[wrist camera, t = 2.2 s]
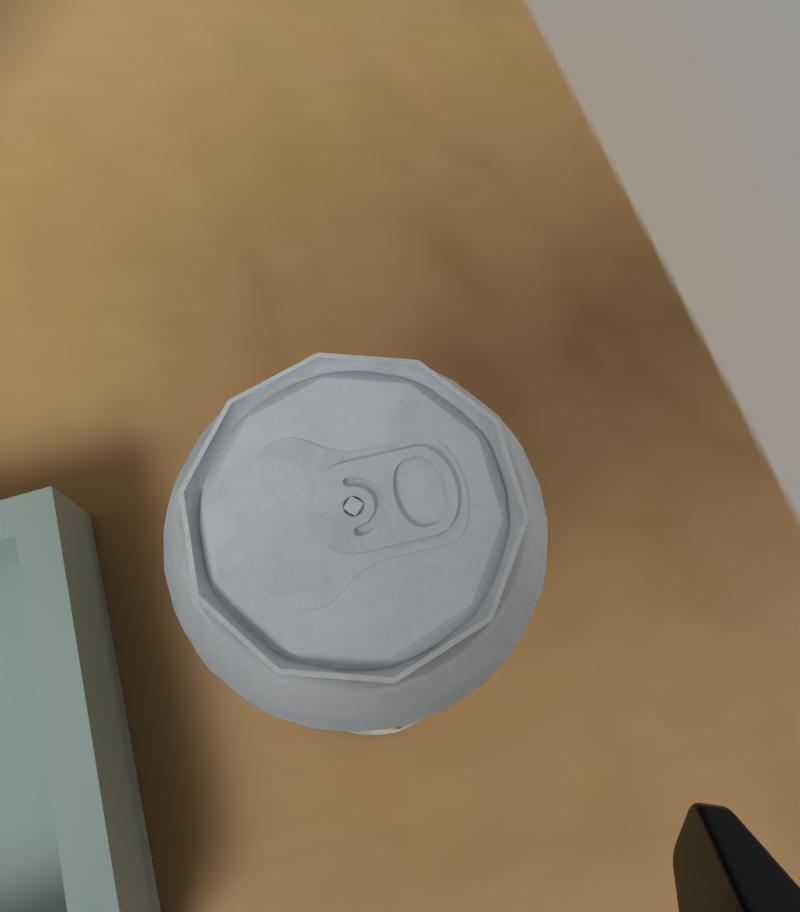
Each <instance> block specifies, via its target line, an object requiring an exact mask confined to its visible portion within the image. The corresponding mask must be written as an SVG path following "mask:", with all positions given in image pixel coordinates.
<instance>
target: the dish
mask: <svg viewBox="0 0 800 912" xmlns="http://www.w3.org/2000/svg"><path fill="white" fill-rule="evenodd" d="M0 912H161V908H160V903H159V897H158V891H157V886H156V880H155V874H154V868H153V863H152V857H151V851H150V846H149V840H148V834H147V829H146V823H145V817H144V812H143V806H142V800H141V795H140V789H139V783H138V778H137V772H136V766H135V761H134V755H133V749H132V744H131V738H130V732H129V727H128V721H127V715H126V710H125V704H124V698H123V693H122V687H121V681H120V675H119V670H118V664H117V658H116V653H115V647H114V641H113V636H112V630H111V624H110V619H109V613H108V607H107V602H106V596H105V590H104V585H103V579H102V573H101V568H100V562H99V556H98V551H97V545H96V539H95V534H94V528H93V522H92V517H91V515H90V514H89V513H87V512H86V511H85V510H83V509H82V508H81V507H79V506H78V505H77V504H75V503H74V502H72V501H71V500H70V499H68V498H67V497H66V496H64V495H63V494H62V493H60V492H59V491H58V490H56V489H55V488H54V487H52V486H50V487H46V488H42V489H39V490H35V491H32V492H28V493H24V494H21V495H17V496H14V497H10V498H6V499H3V500H0Z"/></svg>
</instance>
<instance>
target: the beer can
mask: <svg viewBox="0 0 800 912" xmlns="http://www.w3.org/2000/svg"><path fill="white" fill-rule="evenodd" d="M163 543H164V572H165V576H166V580H167V584H168V588H169V592H170V596H171V600H172V604H173V608H174V612H175V614H176V616H177V618H178V620H179V622H180V624H181V626H182V628H183V631H184V632H185V634H186V635H187V637H188V638H189V640H190V641H191V643H192V645H193V647H194V649H195V650H196V652H197V654H198V656H199V657H200V658H201V659H202V661H203V662H204V663H205V665H206V666H207V667H208V668H209V670H211V671H212V672H213V673H214V674H215V675H216V676H218V677H219V678H220V679H221V680H222V681H223V682H225V683H226V684H227V685H228V686H229V687H231V688H232V689H233V690H234V691H235V692H236V693H238V694H239V695H240V696H241V697H242V698H243V699H245V700H246V701H247V702H248V703H250V704H252V705H254V706H256V707H257V708H259V709H261V710H263V711H265V712H267V713H268V714H270V715H272V716H274V717H277V718H280V719H283V720H287V721H289V722H293V723H296V724H299V725H302V726H306V727H309V728H312V729H320V730H332V731H344V732H352V733H356V734H369V735H382V734H389V733H395V732H398V731H401V730H403V729H406V728H409V727H411V726H413V725H414V724H416V723H418V722H419V721H421V720H423V719H424V718H426V717H428V716H431V715H433V714H436V713H438V712H441V711H443V710H446V709H447V708H449V707H450V706H452V705H453V704H455V703H456V702H458V701H459V700H461V699H462V698H464V697H465V696H467V695H468V694H470V693H471V692H473V691H474V690H476V689H477V688H479V687H480V686H481V685H482V684H483V683H484V682H485V681H486V680H487V679H488V678H489V677H490V676H491V675H492V674H493V673H494V672H495V671H496V670H497V669H498V668H499V667H500V666H501V664H502V663H503V662H504V661H505V660H506V659H507V658H508V657H509V656H510V654H511V653H512V651H513V650H514V648H515V647H516V645H517V644H518V642H519V641H520V639H521V638H522V636H523V635H524V633H525V631H526V628H527V626H528V623H529V621H530V618H531V616H532V613H533V611H534V608H535V606H536V603H537V601H538V598H539V596H540V593H541V591H542V588H543V584H544V579H545V574H546V565H547V547H548V523H547V517H546V512H545V507H544V502H543V498H542V493H541V488H540V485H539V482H538V480H537V478H536V476H535V474H534V471H533V469H532V467H531V465H530V463H529V460H528V458H527V456H526V454H525V452H524V449H523V447H522V445H521V444H520V443H519V441H518V440H517V438H516V437H515V435H514V434H513V432H512V431H511V430H510V429H509V428H508V427H507V425H506V424H505V423H504V422H503V421H502V420H501V418H500V417H499V416H498V415H497V414H496V413H495V412H494V411H492V410H491V409H490V408H489V407H488V406H486V405H485V404H484V403H483V402H481V401H480V400H479V399H477V398H476V397H475V396H473V395H472V394H471V393H469V392H468V391H467V390H465V389H464V388H463V387H461V386H460V385H459V384H458V383H456V382H455V381H454V380H452V379H449V378H447V377H445V376H443V375H441V374H439V373H437V372H435V371H433V370H431V369H430V368H429V367H427V366H426V365H425V364H423V363H422V362H421V361H419V360H414V359H400V358H386V357H373V356H360V355H345V354H331V353H316V354H314V355H312V356H310V357H308V358H307V359H305V360H303V361H301V362H299V363H297V364H295V365H293V366H291V367H290V368H287V369H285V370H283V371H281V372H279V373H278V374H276V375H273V376H272V377H270V378H269V379H267V380H265V381H263V382H261V383H259V384H257V385H256V386H254V387H252V388H250V389H248V390H246V391H244V392H242V393H240V394H239V395H237V396H235V397H233V398H231V399H229V400H227V402H226V404H225V406H224V408H223V410H222V411H221V412H220V413H219V414H218V415H217V416H216V417H215V419H214V420H213V421H212V422H211V423H210V424H209V425H208V427H207V428H206V429H205V430H204V431H203V432H202V434H201V435H200V436H199V438H198V440H197V442H196V444H195V446H194V447H193V449H192V451H191V453H190V455H189V457H188V458H187V460H186V462H185V464H184V466H183V468H182V469H181V471H180V473H179V475H178V477H177V479H176V482H175V484H174V486H173V489H172V493H171V497H170V501H169V504H168V508H167V513H166V519H165V526H164V532H163Z"/></svg>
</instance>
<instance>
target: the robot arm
mask: <svg viewBox="0 0 800 912" xmlns="http://www.w3.org/2000/svg"><path fill="white" fill-rule="evenodd" d="M673 869H674V877H675V884H676V892H677V899H678V907H679V912H800V887H799V886H798V885H797V884H796V883H795V882H794V881H793V880H792V878H791V877H790V876H789V875H788V874H787V873H786V872H785V871H784V869H783V868H782V867H781V866H780V865H779V864H778V863H777V861H776V860H775V859H774V858H773V857H772V856H771V855H770V854H769V852H768V851H767V850H766V849H765V848H764V847H763V846H762V844H761V843H760V842H759V841H758V840H757V839H756V838H755V837H754V835H753V834H752V833H751V832H750V831H749V830H748V829H747V828H746V826H745V825H744V824H743V823H742V822H741V821H740V820H739V818H738V817H737V816H736V815H735V814H734V813H733V812H732V811H731V810H729V809H728V808H726V807H724V806H718V805H711V804H704V803H694V804H693V805H692V806H691V807H690V808H689V810H688V813H687V815H686V818H685V821H684V823H683V826H682V828H681V831H680V834H679V836H678V839H677V842H676V844H675V848H674V853H673Z"/></svg>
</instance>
